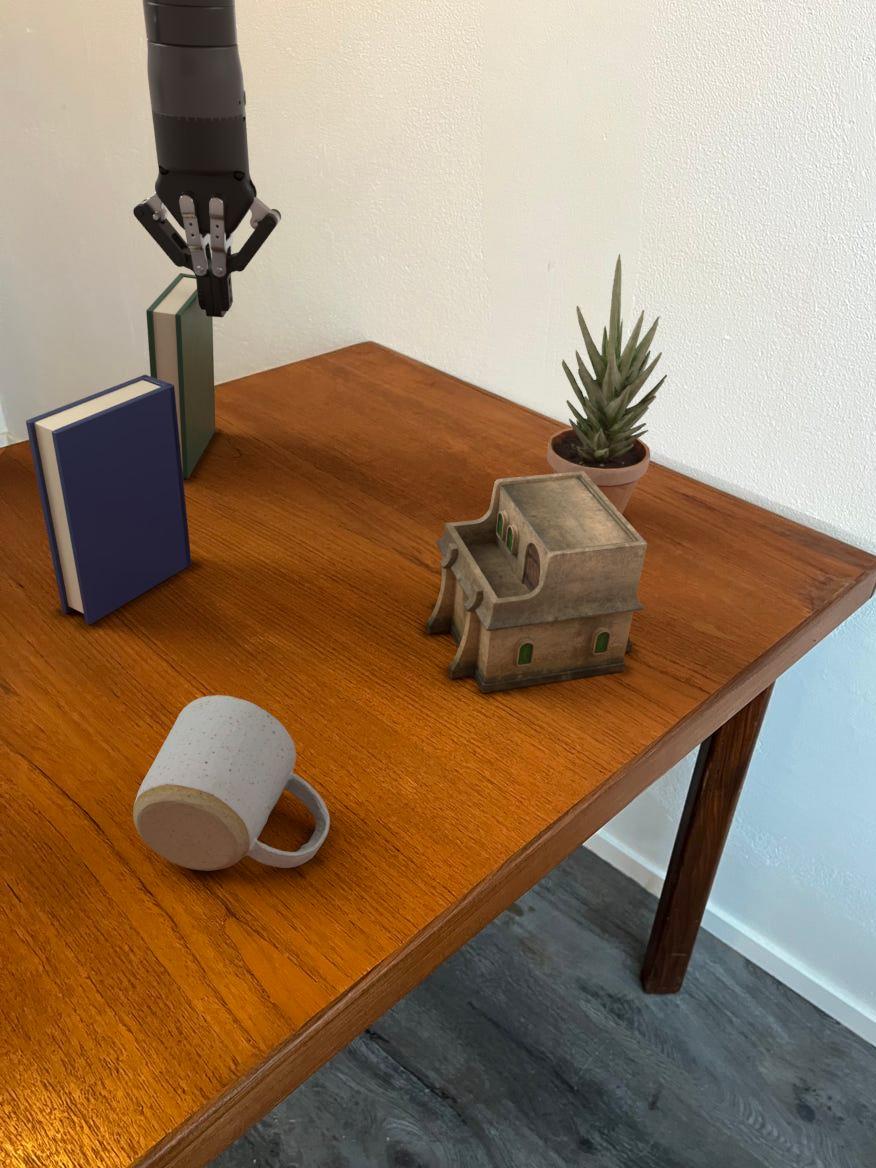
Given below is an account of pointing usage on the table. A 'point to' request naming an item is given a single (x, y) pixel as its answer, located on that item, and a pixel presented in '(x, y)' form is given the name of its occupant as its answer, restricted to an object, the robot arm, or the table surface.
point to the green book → (185, 363)
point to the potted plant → (609, 409)
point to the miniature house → (539, 584)
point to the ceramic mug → (223, 788)
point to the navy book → (112, 494)
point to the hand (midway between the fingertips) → (217, 314)
